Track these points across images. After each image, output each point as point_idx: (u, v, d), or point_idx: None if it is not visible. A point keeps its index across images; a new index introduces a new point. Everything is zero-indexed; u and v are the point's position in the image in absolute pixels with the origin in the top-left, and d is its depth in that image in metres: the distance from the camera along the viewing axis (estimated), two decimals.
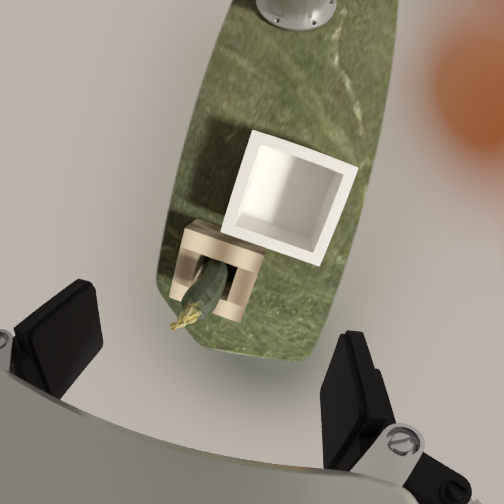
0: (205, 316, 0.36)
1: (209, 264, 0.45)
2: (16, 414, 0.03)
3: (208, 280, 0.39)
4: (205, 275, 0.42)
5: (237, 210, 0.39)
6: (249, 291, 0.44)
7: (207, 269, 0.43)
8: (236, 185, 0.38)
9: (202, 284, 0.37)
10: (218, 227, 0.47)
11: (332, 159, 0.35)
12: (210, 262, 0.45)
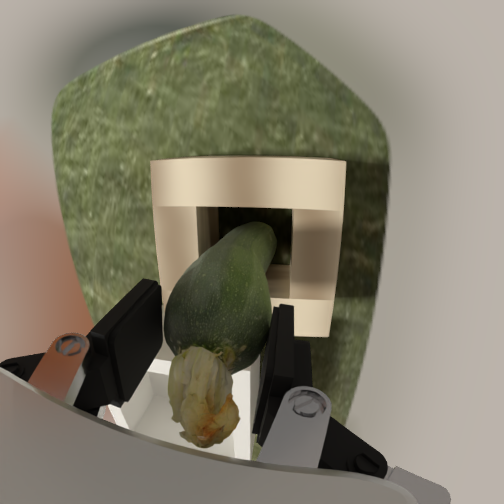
0: (167, 328, 0.10)
1: None
2: (16, 414, 0.03)
3: None
4: None
5: None
6: (159, 248, 0.20)
7: None
8: (247, 425, 0.22)
9: None
10: None
11: None
12: None
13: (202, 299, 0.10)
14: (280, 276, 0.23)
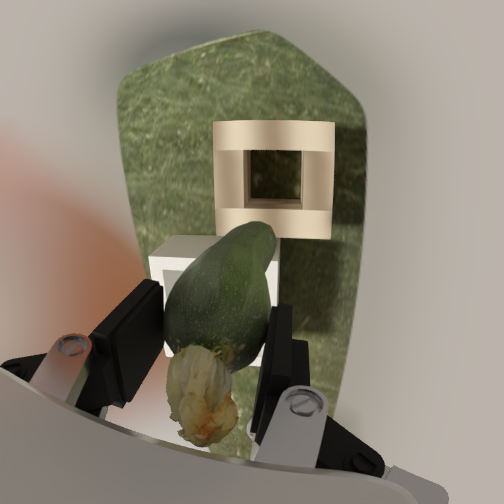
0: (166, 327, 0.10)
1: None
2: (16, 414, 0.03)
3: None
4: None
5: None
6: (216, 178, 0.30)
7: None
8: None
9: None
10: None
11: None
12: None
13: (201, 298, 0.10)
14: (295, 203, 0.33)
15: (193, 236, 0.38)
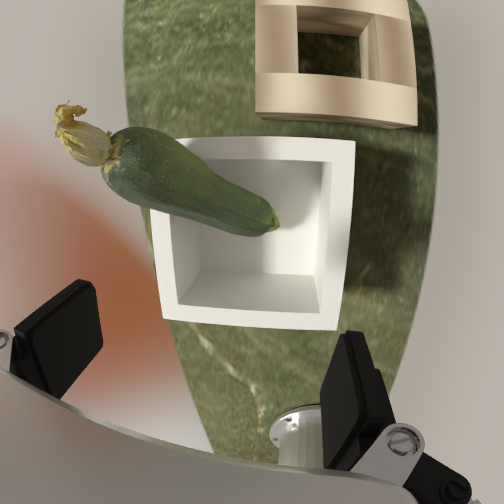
0: None
1: (243, 221, 0.22)
2: (16, 414, 0.03)
3: (171, 210, 0.18)
4: (210, 207, 0.19)
5: (333, 193, 0.19)
6: (259, 35, 0.17)
7: (230, 214, 0.21)
8: (345, 238, 0.20)
9: (155, 204, 0.16)
10: (353, 123, 0.23)
11: (203, 320, 0.23)
12: (248, 223, 0.22)
13: None
14: None
15: None
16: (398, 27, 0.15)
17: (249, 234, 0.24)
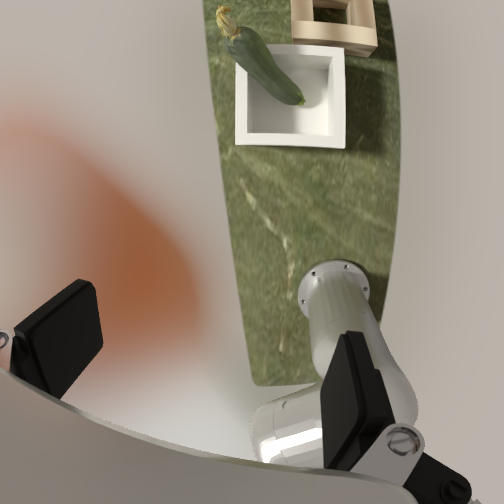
0: None
1: (287, 87, 0.35)
2: (16, 414, 0.03)
3: (255, 68, 0.31)
4: (272, 73, 0.32)
5: (334, 70, 0.32)
6: (293, 3, 0.30)
7: (281, 81, 0.34)
8: (343, 93, 0.33)
9: (251, 59, 0.29)
10: (344, 52, 0.36)
11: (262, 142, 0.36)
12: (289, 90, 0.35)
13: None
14: None
15: None
16: (365, 0, 0.29)
17: (289, 100, 0.37)
